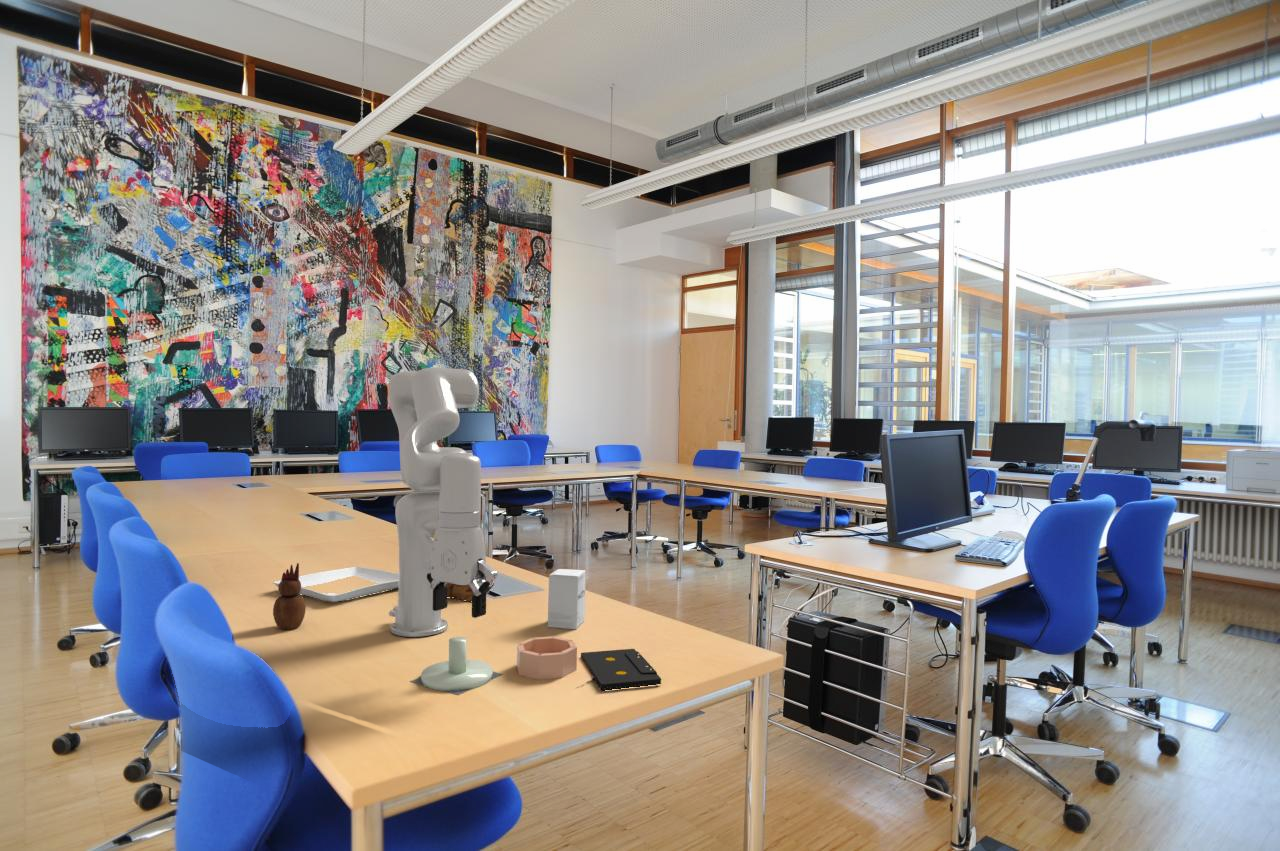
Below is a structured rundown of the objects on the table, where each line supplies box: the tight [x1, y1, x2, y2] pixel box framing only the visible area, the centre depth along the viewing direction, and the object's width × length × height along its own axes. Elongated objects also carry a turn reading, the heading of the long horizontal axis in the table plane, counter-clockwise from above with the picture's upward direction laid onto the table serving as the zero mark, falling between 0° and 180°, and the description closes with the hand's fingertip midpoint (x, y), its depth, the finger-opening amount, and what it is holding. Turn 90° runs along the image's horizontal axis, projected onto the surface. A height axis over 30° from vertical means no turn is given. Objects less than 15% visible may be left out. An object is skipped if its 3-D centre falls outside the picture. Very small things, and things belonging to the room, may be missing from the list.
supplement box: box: [547, 568, 587, 630], centre depth 171 cm, size 7×7×13 cm
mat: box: [409, 671, 504, 696], centre depth 133 cm, size 12×12×1 cm
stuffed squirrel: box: [444, 575, 486, 602], centre depth 194 cm, size 10×14×13 cm
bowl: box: [516, 635, 578, 680], centre depth 139 cm, size 11×11×5 cm
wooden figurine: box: [272, 562, 307, 630], centre depth 164 cm, size 7×6×15 cm
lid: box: [420, 636, 494, 692], centre depth 133 cm, size 13×13×7 cm
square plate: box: [272, 566, 399, 603], centre depth 199 cm, size 27×27×4 cm
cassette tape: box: [580, 648, 662, 692], centre depth 139 cm, size 18×12×2 cm, turn 17°
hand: (459, 612), depth 132 cm, fingers open, 9 cm apart
